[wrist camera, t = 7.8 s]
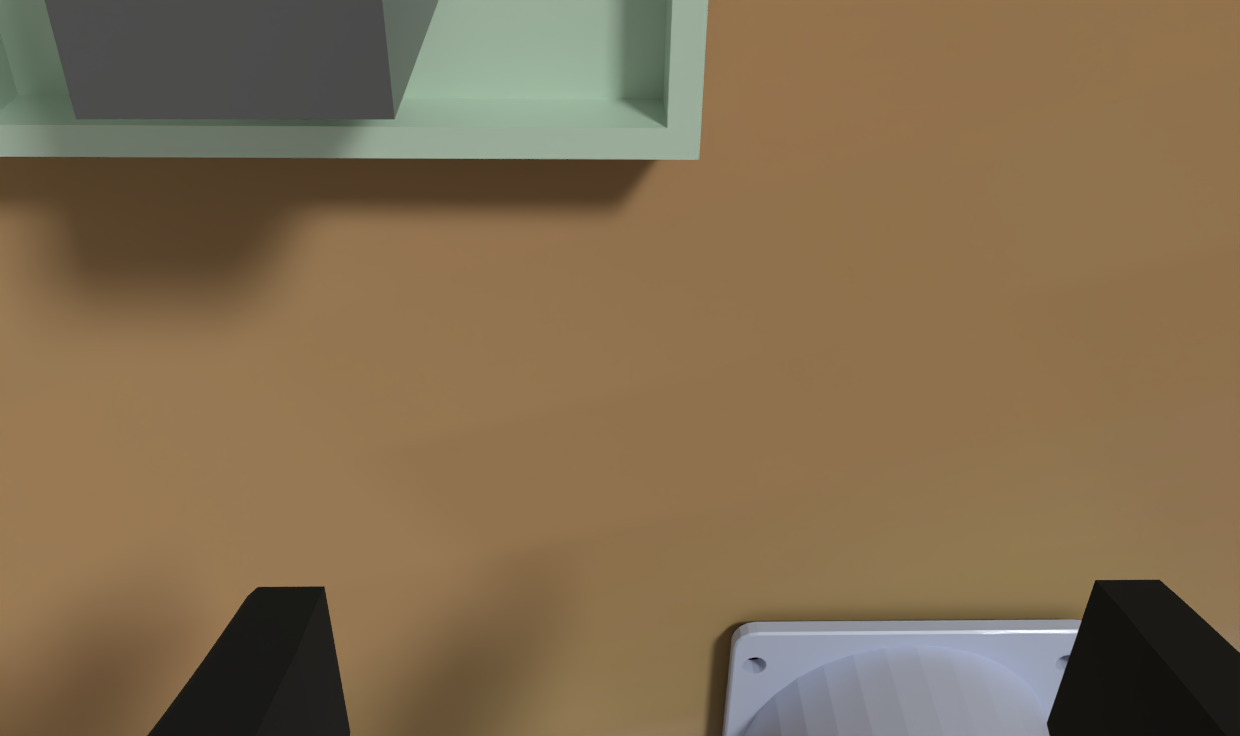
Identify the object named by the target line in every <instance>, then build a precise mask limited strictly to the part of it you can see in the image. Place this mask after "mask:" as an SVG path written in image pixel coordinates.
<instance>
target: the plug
mask: <svg viewBox="0 0 1240 736" xmlns="http://www.w3.org/2000/svg"><path fill="white" fill-rule="evenodd" d="M437 3H438V0H45V4H46V8H47V12H48V15H49V19H50V23H51V27H52V31H53V34H54V38H55V42H56V46H57V49H58V53H59V57H60V61H61V65H62V68H63V72H64V76H65V80H66V83H67V87H68V91H69V95H70V99H71V102H72V106H73V110H74V114H75V117H76V119H395V117H396V114H397V112H398V109H399V106H400V103H401V101H402V98H403V95H404V93H405V90H406V87H407V85H408V82H409V79H410V76H411V74H412V71H413V68H414V66H415V63H416V60H417V57H418V55H419V52H420V49H421V47H422V44H423V41H424V38H425V36H426V33H427V30H428V28H429V25H430V22H431V19H432V17H433V14H434V11H435V9H436V6H437Z"/></svg>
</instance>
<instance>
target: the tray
mask: <svg viewBox="0 0 1240 736" xmlns="http://www.w3.org/2000/svg"><path fill="white" fill-rule="evenodd" d="M707 12H708V0H438V3H437V6H436V9H435V11H434V14H433V17H432V19H431V22H430V25H429V28H428V30H427V33H426V36H425V38H424V41H423V44H422V47H421V49H420V52H419V55H418V57H417V60H416V63H415V66H414V68H413V71H412V74H411V76H410V79H409V82H408V85H407V87H406V90H405V93H404V95H403V98H402V101H401V103H400V106H399V109H398V112H397V114H396V117H395V119H76V117H75V114H74V110H73V106H72V102H71V99H70V95H69V91H68V87H67V83H66V80H65V76H64V72H63V68H62V65H61V61H60V57H59V53H58V49H57V46H56V42H55V38H54V34H53V31H52V27H51V23H50V19H49V15H48V12H47V8H46V4H45V0H0V157H197V158H427V159H657V160H699V151H700V133H701V116H702V99H703V81H704V64H705V46H706V29H707Z"/></svg>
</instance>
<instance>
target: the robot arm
mask: <svg viewBox="0 0 1240 736" xmlns="http://www.w3.org/2000/svg"><path fill="white" fill-rule="evenodd" d="M1065 655H1066V656H1065ZM1063 656H1064V657H1063ZM754 657H757V658H758V659H755V660H747V659H749V658H754ZM147 736H350V728H349V723H348V717H347V711H346V706H345V700H344V694H343V689H342V683H341V678H340V672H339V666H338V661H337V655H336V649H335V644H334V638H333V633H332V627H331V621H330V616H329V610H328V604H327V599H326V593H325V588H324V587H258V588H256V589H255V590H254V591H253V592H252V593H251V594H250V595H248V596H247V598H246V599H245V601H244V602H243V604H242V605H241V607H240V608H239V610H238V611H237V613H236V614H235V615H234V617H233V618H232V620H231V621H230V623H229V624H228V626H227V627H226V629H225V630H224V631H223V633H222V634H221V636H220V637H219V639H218V640H217V642H216V643H215V644H214V646H213V647H212V649H211V650H210V652H209V653H208V654H207V656H206V657H205V659H204V660H203V661H202V663H201V664H200V666H199V667H198V668H197V670H196V671H195V673H194V674H193V675H192V677H191V678H190V679H189V681H188V682H187V684H186V685H185V686H184V688H183V689H182V690H181V692H180V693H179V694H178V696H177V697H176V699H175V700H174V701H173V703H172V704H171V705H170V707H169V708H168V709H167V711H166V712H165V713H164V715H163V716H162V717H161V719H160V720H159V721H158V723H157V724H156V725H155V726H154V728H153V729H152V730H151V732H150V733H149V734H148V735H147ZM722 736H1240V653H1239V652H1238V651H1237V650H1236V649H1235V648H1234V647H1233V646H1232V645H1230V644H1229V643H1228V642H1227V641H1226V640H1225V639H1224V638H1223V637H1222V636H1221V635H1220V634H1219V633H1218V632H1217V631H1215V630H1214V629H1213V628H1212V627H1211V626H1210V625H1209V624H1208V623H1207V622H1206V621H1205V620H1204V619H1202V618H1201V617H1200V616H1199V615H1198V614H1197V613H1196V612H1195V611H1194V610H1193V609H1192V608H1191V607H1189V606H1188V605H1187V604H1186V603H1185V602H1184V601H1183V600H1182V599H1181V598H1180V597H1178V596H1177V595H1176V594H1175V593H1174V592H1173V591H1172V590H1170V589H1169V588H1168V587H1167V586H1166V585H1165V584H1164V583H1163V582H1161V581H1160V580H1095V583H1094V586H1093V589H1092V592H1091V595H1090V598H1089V601H1088V604H1087V606H1086V609H1085V612H1084V615H1083V618H1082V621H1080V620H1073V619H1061V620H928V621H795V622H751V623H747V624H744V625H742V626H740V627H739V628H738V629H737V630H736V631H735V632H734V634H733V636H732V641H731V651H730V661H729V671H728V681H727V691H726V701H725V712H724V722H723V732H722Z"/></svg>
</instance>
